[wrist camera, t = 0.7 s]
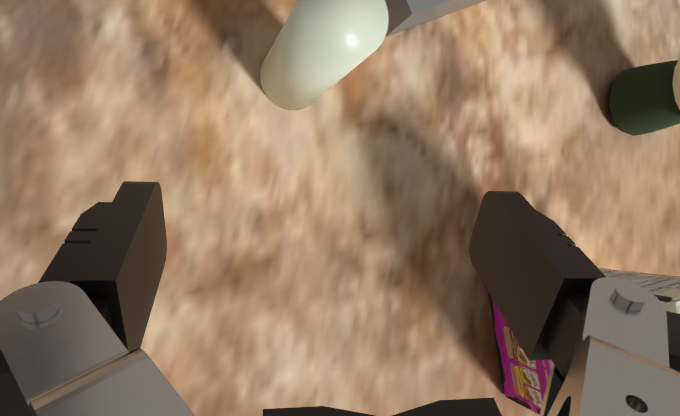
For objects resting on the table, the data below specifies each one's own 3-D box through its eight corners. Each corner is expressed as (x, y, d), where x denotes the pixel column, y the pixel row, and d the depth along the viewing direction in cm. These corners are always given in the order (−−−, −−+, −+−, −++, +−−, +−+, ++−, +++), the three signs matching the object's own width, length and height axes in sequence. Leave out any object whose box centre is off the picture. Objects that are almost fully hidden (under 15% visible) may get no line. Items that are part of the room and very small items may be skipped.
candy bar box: (549, 380, 42) (767, 476, 27) (503, 397, 41) (705, 510, 25) (530, 256, 42) (740, 280, 26) (483, 268, 40) (675, 301, 25)
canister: (249, 58, 34) (285, -20, 23) (306, 39, 35) (367, -44, 24) (275, 119, 35) (323, 72, 23) (330, 97, 36) (401, 43, 25)
